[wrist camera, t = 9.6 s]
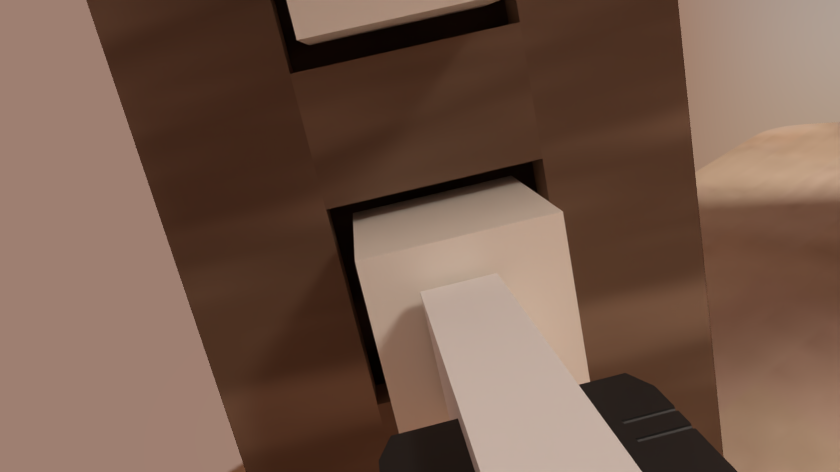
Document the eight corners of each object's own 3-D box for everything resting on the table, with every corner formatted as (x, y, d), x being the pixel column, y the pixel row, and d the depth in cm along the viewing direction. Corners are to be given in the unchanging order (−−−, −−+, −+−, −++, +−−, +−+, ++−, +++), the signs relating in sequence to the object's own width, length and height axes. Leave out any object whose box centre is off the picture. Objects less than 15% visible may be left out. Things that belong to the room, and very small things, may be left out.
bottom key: (592, 396, 13) (562, 211, 12) (402, 445, 13) (355, 261, 12) (537, 321, 17) (511, 175, 16) (389, 359, 17) (352, 213, 16)
